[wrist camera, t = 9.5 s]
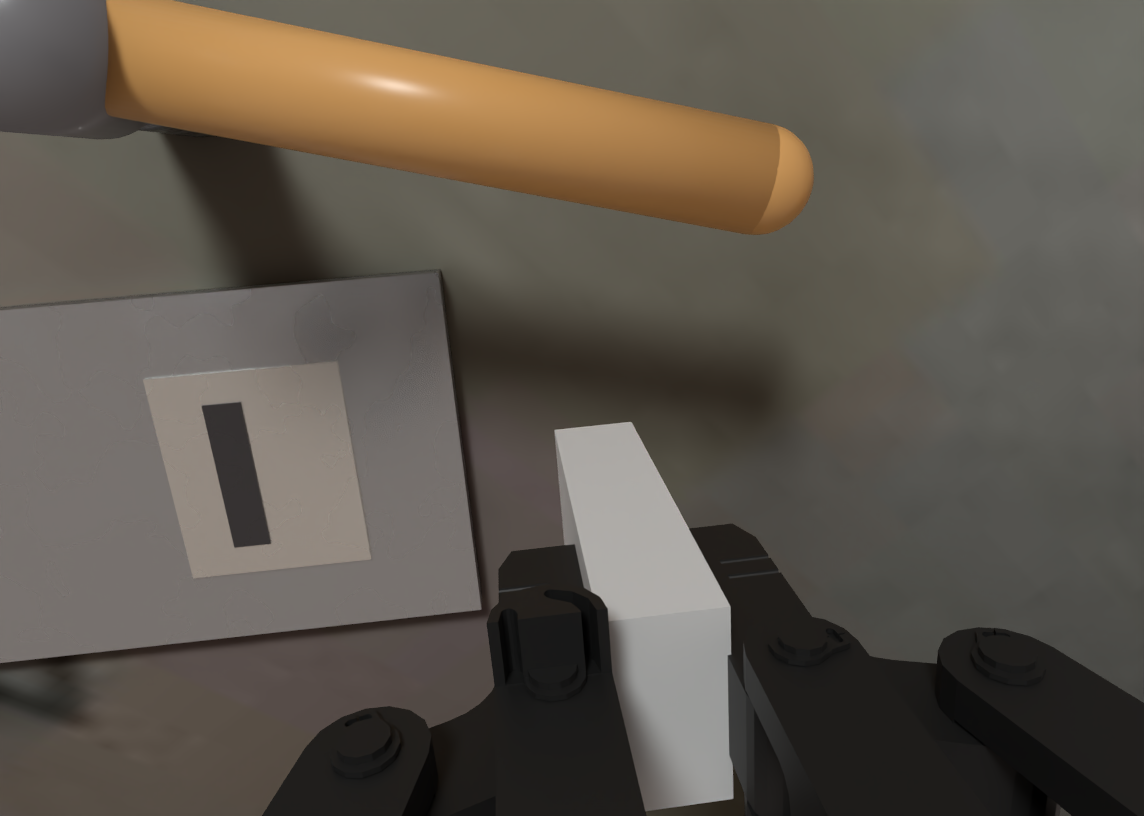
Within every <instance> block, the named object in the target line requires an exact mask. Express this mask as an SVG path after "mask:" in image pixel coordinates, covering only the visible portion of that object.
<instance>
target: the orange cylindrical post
mask: <svg viewBox="0 0 1144 816" xmlns="http://www.w3.org/2000/svg"><path fill="white" fill-rule="evenodd" d="M148 123H150V124H155V125H161V126H166V127H171V128H177V129H182V130H187V131H193V132H198V133H204V134H209V135H214V136H220V137H225V138H231V139H236V140H241V141H247V142H252V143H257V144H263V145H268V146H274V147H279V148H284V149H290V150H295V151H300V152H306V153H311V154H317V155H322V156H327V157H333V158H338V159H343V160H349V161H354V162H360V163H365V164H370V165H376V166H381V167H386V168H392V169H397V170H403V171H408V172H413V173H419V174H424V175H429V176H435V177H440V178H446V179H451V180H456V181H462V182H467V183H473V184H478V185H483V186H489V187H494V188H499V189H505V190H510V191H516V192H521V193H526V194H532V195H537V196H542V197H548V198H553V199H559V200H564V201H569V202H575V203H580V204H585V205H591V206H596V207H602V208H607V209H612V210H618V211H623V212H628V213H634V214H639V215H645V216H650V217H655V218H661V219H666V220H671V221H677V222H682V223H688V224H693V225H698V226H704V227H709V228H715V229H720V230H725V231H731V232H736V233H741V234H749V235H760V234H768V233H771V232H774V231H777V230H779V229H781V228H782V227H784V226H786V225H787V224H789V223H790V222H791V221H793V220H794V219H795V218H796V217H797V216H798V215H799V214H800V212H801V211H802V210H803V208H804V207H805V205H806V203H807V202H808V200H809V197H810V195H811V191H812V187H813V182H814V173H813V164H812V160H811V157H810V154H809V152H808V150H807V149H806V147H805V145H804V144H803V142H802V141H801V140H800V139H799V138H798V137H796V136H795V135H794V134H793V133H792V132H790V131H789V130H787V129H785V128H783V127H780V126H777V125H774V124H770V123H765V122H760V121H755V120H750V119H745V118H740V117H736V116H731V115H726V114H721V113H716V112H711V111H707V110H702V109H697V108H692V107H687V106H682V105H677V104H673V103H668V102H663V101H658V100H653V99H648V98H643V97H639V96H634V95H629V94H624V93H619V92H614V91H609V90H605V89H600V88H595V87H590V86H585V85H580V84H575V83H571V82H566V81H561V80H556V79H551V78H546V77H542V76H537V75H532V74H527V73H522V72H517V71H512V70H508V69H503V68H498V67H493V66H488V65H483V64H478V63H474V62H469V61H464V60H459V59H454V58H449V57H444V56H440V55H435V54H430V53H425V52H420V51H415V50H410V49H406V48H401V47H396V46H391V45H386V44H381V43H377V42H372V41H367V40H362V39H357V38H352V37H347V36H343V35H338V34H333V33H328V32H323V31H318V30H313V29H309V28H304V27H299V26H294V25H289V24H284V23H279V22H275V21H270V20H265V19H260V18H255V17H250V16H245V15H241V14H236V13H231V12H226V11H221V10H216V9H212V8H207V7H202V6H197V5H192V4H187V3H182V2H178V1H173V0H0V131H3V132H14V133H27V134H39V135H51V136H64V137H76V138H88V139H113V138H120V137H123V136H126V135H129V134H132V133H134V132H136V131H138V130H139V129H141V128H142V127H144V126H145V125H147V124H148Z"/></svg>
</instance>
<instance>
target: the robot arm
mask: <svg viewBox="0 0 1144 816" xmlns="http://www.w3.org/2000/svg"><path fill="white" fill-rule="evenodd" d="M554 431H555V442H556V454H557V465H558V476H559V487H560V499H561V510H562V521H563V533H564V544H565V545H563V546H555V547H546V548H537V549H528V550H520V551H512V552H511V553H510V554H509V556H508V557H507V559H506V560H505V561H504V563H503V564H502V565H501V567H500V568H499V603H498V604H497V605H496V606H495V607H494V608H493V609H492V610H491V613H490V615H489V618H488V621H487V629H488V637H489V645H490V653H491V661H492V668H493V676H494V684H495V686H494V688H493V690H492V692H491V693H490V694H489V695H488V696H487V697H486V698H485V699H484V700H483V701H482V703H480V704H479V705H477V706H476V707H475V708H473V709H472V710H470V711H469V712H467V713H465V714H463V715H461V716H459V717H457V718H455V719H452V720H450V721H448V722H445V723H442V724H440V725H437V726H434V727H431V728H428V726H427V724H426V722H425V720H424V719H422V718H421V717H419V716H418V715H416V714H415V713H413V712H412V711H410V710H406V709H401V708H395V707H390V706H388V707H379V708H369V709H364V710H361V711H358V712H355V713H353V714H350V715H347V716H344V717H342V718H340V719H338V720H337V721H335V722H334V723H332V724H331V725H329V726H327V727H326V728H324V729H323V730H321V731H320V732H319V733H318V734H317V735H316V737H315V738H314V739H313V740H312V741H311V742H310V743H309V744H308V745H307V747H306V748H305V749H304V751H303V752H302V754H301V755H300V757H299V759H298V760H297V762H296V763H295V765H294V766H293V768H292V769H291V771H290V773H289V774H288V776H287V777H286V779H285V780H284V782H283V784H282V785H281V787H280V788H279V790H278V791H277V793H276V795H275V796H274V798H273V799H272V801H271V802H270V804H269V806H268V807H267V809H266V810H265V812H264V813H263V815H262V816H646V812H645V811H650V810H657V809H665V808H672V807H679V806H686V805H693V804H700V803H707V802H715V801H722V800H729V799H733V766H734V768H735V771H736V773H737V776H738V778H739V781H740V783H741V786H742V788H743V791H744V793H745V816H1059V815H1060V808H1061V807H1062V808H1063V809H1064V810H1066V811H1067V812H1068V813H1069V814H1071V815H1072V816H1144V703H1143V702H1141V701H1140V700H1138V699H1136V698H1135V697H1133V696H1132V695H1130V694H1128V693H1127V692H1125V691H1123V690H1122V689H1120V688H1118V687H1117V686H1115V685H1114V684H1112V683H1110V682H1109V681H1107V680H1105V679H1104V678H1102V677H1101V676H1099V675H1097V674H1096V673H1094V672H1092V671H1091V670H1089V669H1088V668H1086V667H1084V666H1083V665H1081V664H1079V663H1078V662H1076V661H1074V660H1073V659H1071V658H1070V657H1068V656H1066V655H1065V654H1063V653H1061V652H1060V651H1058V650H1057V649H1055V648H1053V647H1051V646H1049V645H1047V644H1045V643H1043V642H1041V641H1039V640H1037V639H1034V638H1032V637H1030V636H1027V635H1023V634H1020V633H1016V632H1012V631H1009V630H1006V629H998V628H994V629H993V628H980V627H978V628H972V629H965V630H959V631H956V632H955V633H953V634H951V635H949V636H947V637H946V638H944V639H943V641H942V643H941V645H940V647H939V650H938V657H937V664H933V663H921V662H909V661H898V660H889V659H883V658H876V657H872V656H869V654H868V653H867V652H866V650H865V649H864V648H863V646H862V645H861V644H860V643H859V641H858V640H857V639H856V638H855V637H853V636H852V635H851V634H850V633H849V632H848V631H847V630H845V629H844V628H842V627H840V626H838V625H836V624H833V623H831V622H829V621H827V620H824V619H819V618H814V617H812V616H811V615H810V613H809V612H808V611H807V609H806V608H805V606H804V605H803V603H802V602H801V601H800V599H799V598H798V596H797V595H796V594H795V592H794V591H793V589H792V588H791V586H790V585H789V584H788V582H787V581H786V579H785V578H784V577H783V575H782V574H781V573H779V572H778V568H777V567H776V565H775V564H774V562H773V561H772V560H771V558H768V554H767V552H766V551H765V550H764V548H763V547H762V545H761V544H760V543H759V541H758V540H757V538H756V537H755V536H753V535H751V534H749V533H748V532H746V531H744V530H742V529H741V528H739V527H737V526H736V525H734V524H725V525H717V526H708V527H699V528H690V529H689V528H688V526H687V525H686V523H685V521H684V519H683V517H682V515H681V513H680V512H679V510H678V508H677V506H676V504H675V502H674V500H673V499H672V497H671V495H670V493H669V491H668V489H667V487H666V486H665V484H664V482H663V480H662V478H661V476H660V474H659V473H658V471H657V469H656V467H655V465H654V463H653V461H652V460H651V458H650V456H649V454H648V452H647V450H646V448H645V447H644V445H643V443H642V441H641V439H640V437H639V435H638V433H637V432H636V430H635V428H634V426H633V424H632V422H625V423H616V424H606V425H596V426H587V427H577V428H568V429H558V430H554Z"/></svg>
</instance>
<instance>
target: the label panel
mask: <svg viewBox="0 0 1144 816" xmlns="http://www.w3.org/2000/svg"><path fill="white" fill-rule="evenodd" d="M481 609H482V593H481V585H480V577H479V569H478V561H477V553H476V546H475V538H474V530H473V522H472V514H471V506H470V499H469V491H468V483H467V475H466V467H465V459H464V451H463V444H462V436H461V428H460V420H459V412H458V404H457V396H456V389H455V381H454V373H453V365H452V357H451V349H450V342H449V334H448V326H447V318H446V310H445V302H444V294H443V287H442V279H441V271H440V269H438V270H426V271H415V272H403V273H392V274H380V275H369V276H357V277H346V278H334V279H323V280H311V281H300V282H288V283H277V284H265V285H254V286H242V287H231V288H219V289H208V290H196V291H185V292H173V293H162V294H150V295H139V296H127V297H116V298H104V299H93V300H81V301H70V302H58V303H47V304H35V305H24V306H12V307H1V308H0V663H5V662H14V661H23V660H32V659H41V658H50V657H59V656H68V655H77V654H86V653H95V652H104V651H113V650H122V649H131V648H140V647H149V646H158V645H167V644H176V643H185V642H194V641H203V640H213V639H222V638H231V637H240V636H249V635H258V634H267V633H276V632H285V631H294V630H303V629H312V628H321V627H330V626H339V625H348V624H357V623H366V622H375V621H384V620H393V619H402V618H411V617H420V616H429V615H438V614H447V613H456V612H465V611H475V610H481Z"/></svg>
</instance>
